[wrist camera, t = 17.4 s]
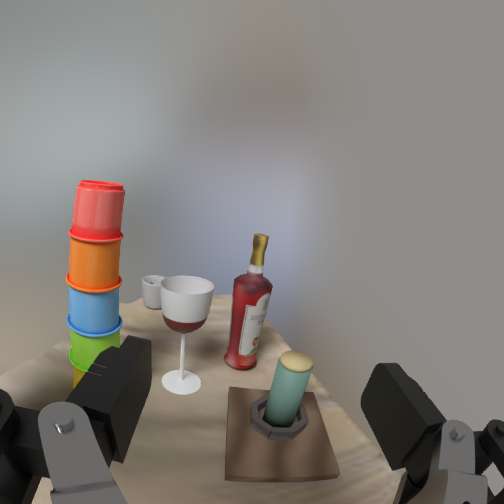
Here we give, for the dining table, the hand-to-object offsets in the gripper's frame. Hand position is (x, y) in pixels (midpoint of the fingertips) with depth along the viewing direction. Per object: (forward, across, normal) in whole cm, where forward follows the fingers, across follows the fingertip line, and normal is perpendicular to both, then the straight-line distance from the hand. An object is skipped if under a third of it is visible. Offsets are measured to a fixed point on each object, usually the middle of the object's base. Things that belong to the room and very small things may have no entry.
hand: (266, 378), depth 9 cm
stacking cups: (+26, +22, +30) cm, 46 cm away
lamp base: (+22, -10, +30) cm, 38 cm away
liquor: (+42, -4, +30) cm, 52 cm away
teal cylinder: (+24, -10, +28) cm, 38 cm away
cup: (+65, +20, +31) cm, 75 cm away
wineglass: (+33, +7, +30) cm, 46 cm away
